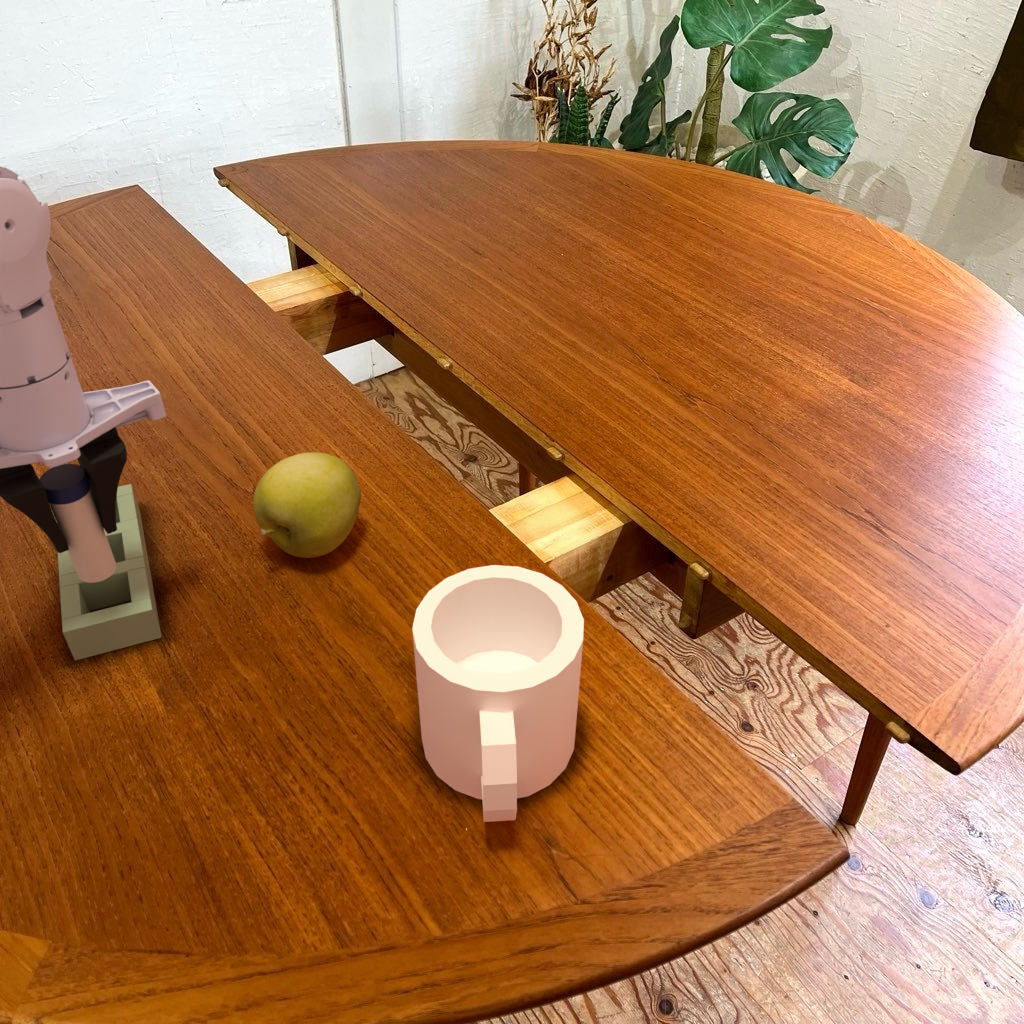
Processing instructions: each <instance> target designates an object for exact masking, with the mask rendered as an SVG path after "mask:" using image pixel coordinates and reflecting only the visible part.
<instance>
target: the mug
mask: <svg viewBox="0 0 1024 1024" xmlns="http://www.w3.org/2000/svg"><path fill="white" fill-rule="evenodd" d="M584 628H585V619H584V617H583V615H582V612H581V608H580V606H579V604H578V601H577V600H576V599H575V597H573V596H572V595H571V593H570V592H569V591H568V590H567V589H566V588H565V587H564V586H563V585H562V584H561V583H559V582H557V581H555V580H553V579H552V578H551V577H549V576H547V575H546V574H544V573H542V572H538V571H534V570H532V569H528V568H525V567H521V566H516V565H515V566H514V565H502V564H501V565H500V564H491V565H486V566H478V567H471V568H467V569H465V570H462V571H459V572H458V573H457V572H456V573H455V574H453V575H450V576H448V577H445V578H444V579H443V580H442V581H440V582H439V583H437V585H435V586H434V587H432V588H431V589H430V590H429V591H427V593H426V594H425V596H424V597H423V599H422V600H421V601H420V604H418V606H417V608H416V610H415V614H414V618H413V623H412V627H411V630H412V641H413V642H412V643H413V655H414V666H415V676H416V688H417V700H418V713H419V724H420V734H421V743H422V747H423V752H424V758H425V759H426V761H427V762H428V764H429V766H430V767H431V769H432V770H433V773H434V774H435V775H436V777H438V779H440V780H441V781H443V782H444V783H445V784H446V785H448V787H450V788H452V789H453V790H454V791H456V792H458V793H461V794H463V795H467V796H470V797H472V798H474V799H477V800H482V816H483V823H488V822H489V823H490V822H507V821H516V819H517V813H518V799H522V798H526V797H530V796H532V795H534V794H536V793H537V792H539V791H541V790H543V789H545V788H546V787H548V786H551V784H553V782H554V781H555V780H556V779H558V777H560V775H561V774H562V773H563V772H564V771H565V770H566V769H567V766H568V764H569V762H570V759H571V757H572V755H573V753H574V750H575V742H576V733H577V732H576V730H577V718H578V707H579V695H580V683H581V670H582V659H583V658H582V657H583V647H584Z"/></svg>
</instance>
